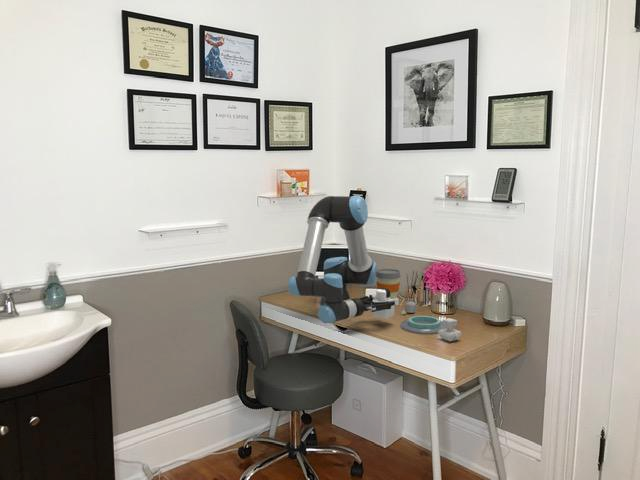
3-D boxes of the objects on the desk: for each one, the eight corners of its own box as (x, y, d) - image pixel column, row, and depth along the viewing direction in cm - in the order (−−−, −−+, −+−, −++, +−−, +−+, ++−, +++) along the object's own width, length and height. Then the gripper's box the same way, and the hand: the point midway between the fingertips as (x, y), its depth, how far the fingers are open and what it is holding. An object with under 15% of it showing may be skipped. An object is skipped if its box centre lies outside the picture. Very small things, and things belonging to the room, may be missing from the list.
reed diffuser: (411, 310, 259) (412, 269, 256) (423, 312, 254) (424, 271, 251) (398, 314, 252) (399, 272, 249) (410, 317, 247) (411, 274, 244)
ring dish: (391, 325, 234) (391, 319, 234) (422, 317, 246) (422, 311, 246) (425, 337, 219) (426, 330, 218) (457, 328, 230) (458, 321, 230)
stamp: (464, 341, 213) (464, 320, 212) (452, 344, 210) (452, 323, 208) (447, 335, 221) (447, 315, 220) (435, 338, 217) (435, 318, 216)
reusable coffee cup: (380, 295, 288) (380, 268, 286) (403, 298, 283) (403, 270, 281) (372, 301, 277) (372, 272, 275) (395, 303, 271) (396, 274, 269)
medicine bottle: (380, 312, 241) (380, 286, 239) (394, 315, 237) (394, 288, 235) (371, 316, 236) (371, 289, 234) (385, 319, 231) (385, 292, 229)
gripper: (335, 311, 234) (374, 302, 247) (368, 322, 217) (408, 312, 230) (335, 294, 232) (374, 286, 246) (368, 304, 216) (408, 295, 229)
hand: (390, 299), depth 238 cm, fingers closed on medicine bottle, 8 cm apart
